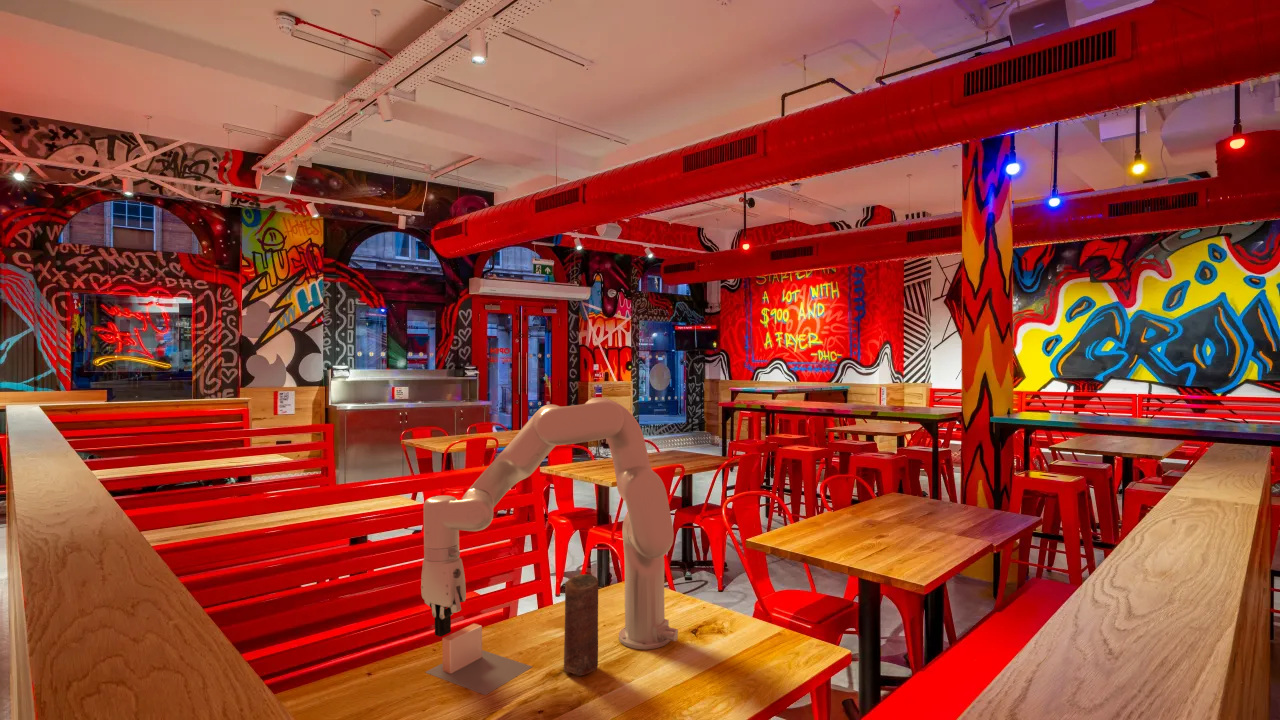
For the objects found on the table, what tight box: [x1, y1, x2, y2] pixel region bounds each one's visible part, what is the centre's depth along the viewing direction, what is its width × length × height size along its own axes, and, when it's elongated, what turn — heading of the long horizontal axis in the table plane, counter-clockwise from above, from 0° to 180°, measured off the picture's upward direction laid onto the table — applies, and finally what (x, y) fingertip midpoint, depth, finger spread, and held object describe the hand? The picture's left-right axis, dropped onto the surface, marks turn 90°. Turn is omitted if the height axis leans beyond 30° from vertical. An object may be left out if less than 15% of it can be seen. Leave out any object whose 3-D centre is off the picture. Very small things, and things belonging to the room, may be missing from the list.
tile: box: [441, 623, 483, 673], centre depth 146 cm, size 2×9×7 cm, turn 147°
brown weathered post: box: [563, 573, 599, 677], centre depth 144 cm, size 8×7×20 cm
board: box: [424, 649, 533, 696], centre depth 143 cm, size 18×14×1 cm
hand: (442, 633), depth 150 cm, fingers closed
